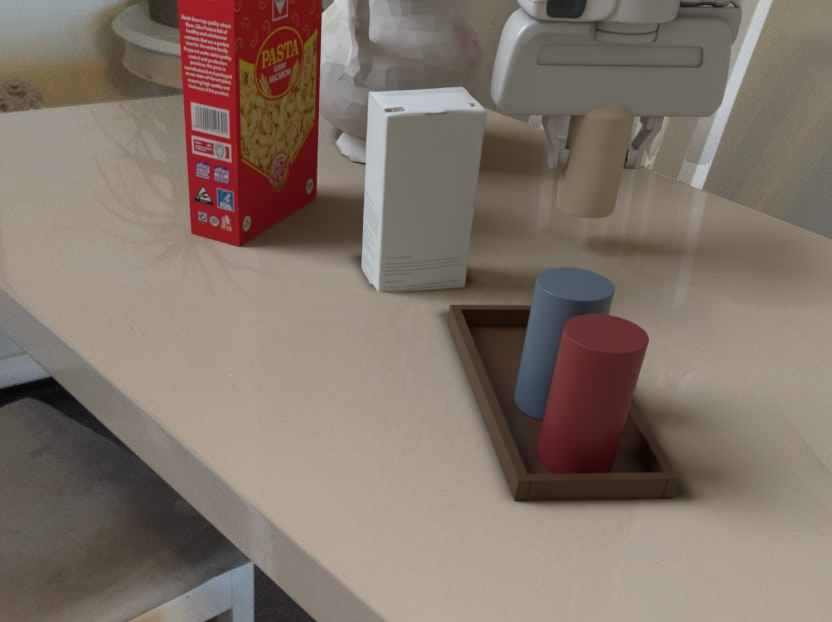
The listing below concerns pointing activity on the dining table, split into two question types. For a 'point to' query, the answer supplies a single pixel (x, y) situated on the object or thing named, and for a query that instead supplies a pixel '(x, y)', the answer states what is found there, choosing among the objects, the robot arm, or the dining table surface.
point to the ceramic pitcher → (390, 58)
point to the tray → (519, 433)
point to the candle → (595, 161)
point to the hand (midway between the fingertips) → (592, 167)
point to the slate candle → (555, 328)
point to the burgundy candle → (591, 393)
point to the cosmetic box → (420, 187)
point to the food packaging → (249, 112)
